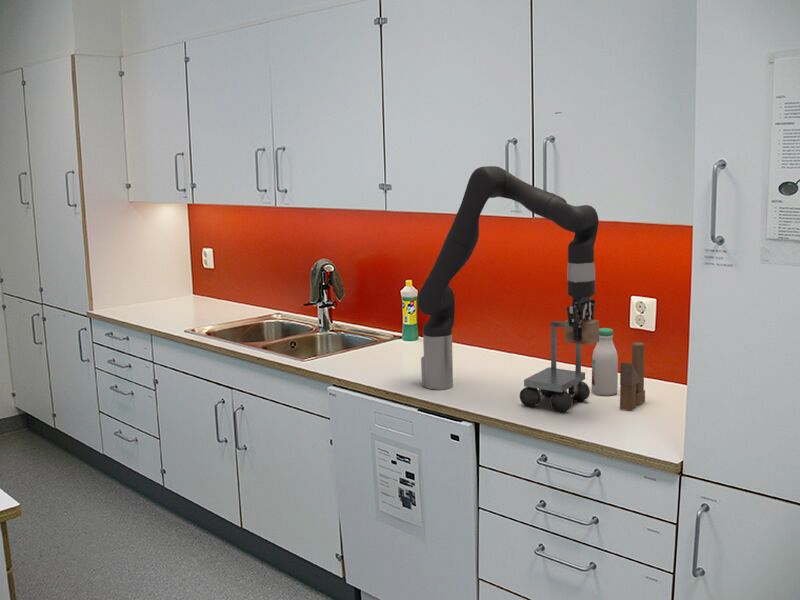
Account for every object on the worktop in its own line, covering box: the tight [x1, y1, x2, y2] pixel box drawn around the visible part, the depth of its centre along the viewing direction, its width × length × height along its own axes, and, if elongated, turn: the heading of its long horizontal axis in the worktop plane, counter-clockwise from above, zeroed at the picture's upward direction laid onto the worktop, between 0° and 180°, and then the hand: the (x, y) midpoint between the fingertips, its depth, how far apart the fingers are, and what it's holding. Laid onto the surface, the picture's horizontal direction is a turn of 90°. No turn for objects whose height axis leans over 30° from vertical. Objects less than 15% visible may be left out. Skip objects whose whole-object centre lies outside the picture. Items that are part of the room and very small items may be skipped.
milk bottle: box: [591, 327, 619, 397], centre depth 260 cm, size 8×8×20 cm
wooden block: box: [619, 341, 646, 412], centre depth 247 cm, size 4×11×18 cm, turn 143°
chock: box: [563, 319, 600, 346], centre depth 236 cm, size 8×5×6 cm, turn 54°
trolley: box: [519, 320, 591, 414], centre depth 250 cm, size 16×16×23 cm
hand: (581, 338), depth 237 cm, fingers closed on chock, 5 cm apart
